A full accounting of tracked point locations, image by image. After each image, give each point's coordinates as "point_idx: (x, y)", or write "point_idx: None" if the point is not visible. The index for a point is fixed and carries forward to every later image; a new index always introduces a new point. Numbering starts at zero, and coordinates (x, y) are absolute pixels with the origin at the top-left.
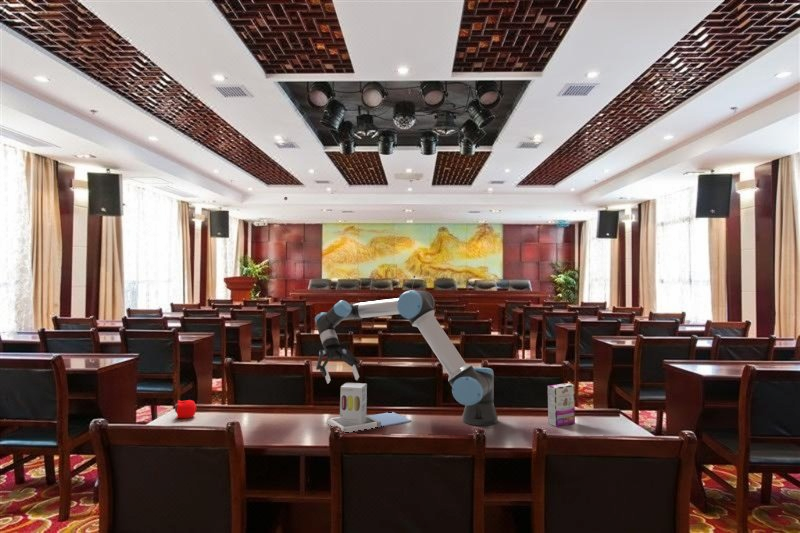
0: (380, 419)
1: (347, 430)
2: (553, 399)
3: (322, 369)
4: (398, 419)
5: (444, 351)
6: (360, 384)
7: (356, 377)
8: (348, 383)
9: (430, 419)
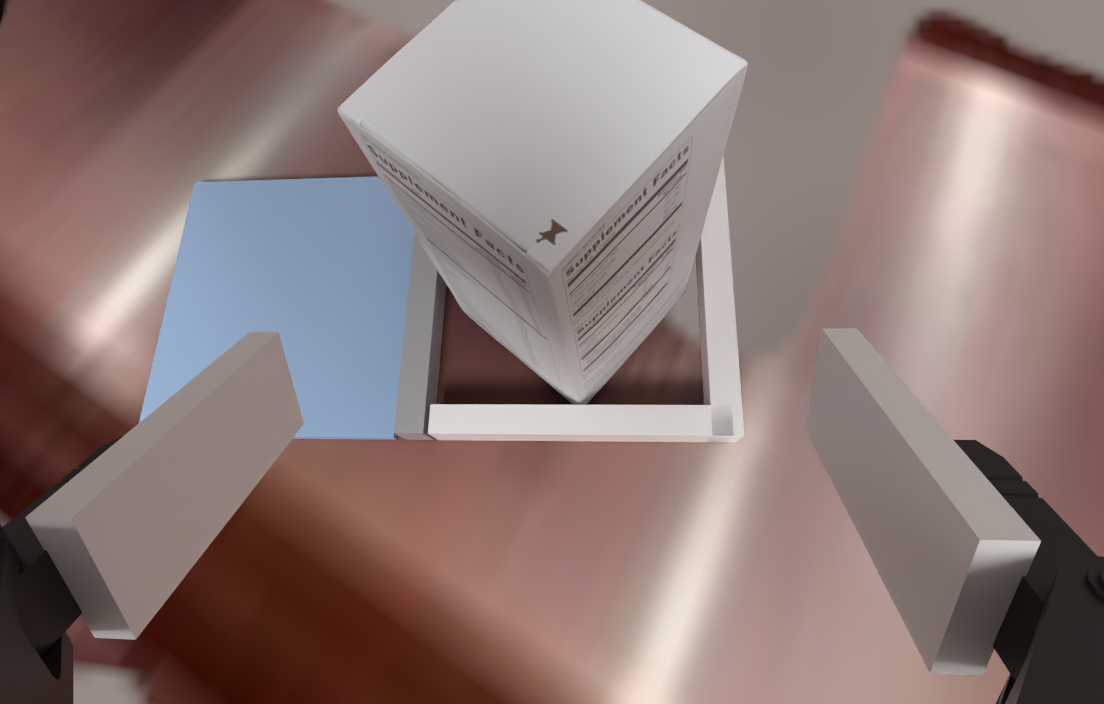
0: (344, 297)
1: None
2: None
3: (1086, 550)
4: (245, 237)
5: None
6: (447, 73)
7: (280, 388)
8: (560, 187)
9: (72, 177)
